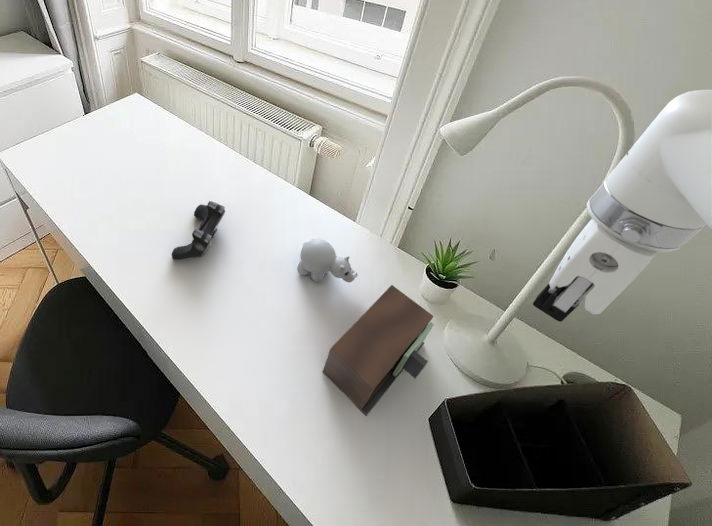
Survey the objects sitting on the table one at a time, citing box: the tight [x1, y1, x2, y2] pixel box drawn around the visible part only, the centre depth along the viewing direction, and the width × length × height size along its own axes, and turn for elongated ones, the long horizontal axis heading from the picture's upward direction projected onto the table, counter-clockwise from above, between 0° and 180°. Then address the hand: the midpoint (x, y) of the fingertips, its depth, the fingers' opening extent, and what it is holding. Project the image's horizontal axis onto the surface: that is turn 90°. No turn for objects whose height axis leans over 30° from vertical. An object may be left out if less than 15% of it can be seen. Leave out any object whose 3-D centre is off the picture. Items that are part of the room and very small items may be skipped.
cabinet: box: [322, 284, 434, 417], centre depth 71 cm, size 9×18×9 cm, turn 130°
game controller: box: [171, 200, 226, 261], centre depth 93 cm, size 16×7×10 cm, turn 159°
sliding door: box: [393, 322, 435, 380], centre depth 69 cm, size 3×8×8 cm, turn 129°
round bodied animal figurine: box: [296, 238, 358, 283], centre depth 84 cm, size 7×12×8 cm, turn 54°
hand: (548, 309), depth 51 cm, fingers closed
